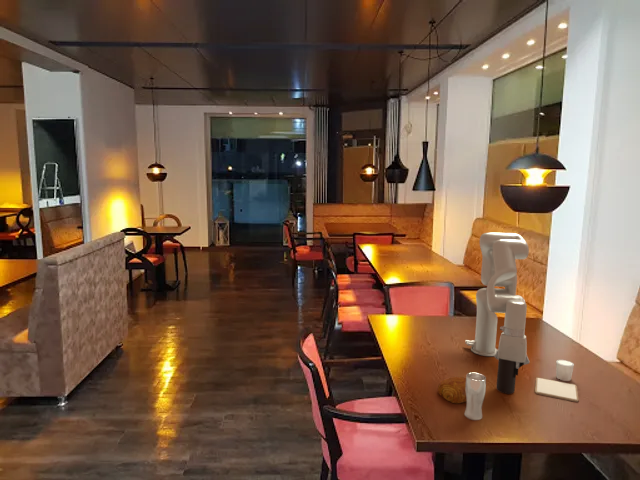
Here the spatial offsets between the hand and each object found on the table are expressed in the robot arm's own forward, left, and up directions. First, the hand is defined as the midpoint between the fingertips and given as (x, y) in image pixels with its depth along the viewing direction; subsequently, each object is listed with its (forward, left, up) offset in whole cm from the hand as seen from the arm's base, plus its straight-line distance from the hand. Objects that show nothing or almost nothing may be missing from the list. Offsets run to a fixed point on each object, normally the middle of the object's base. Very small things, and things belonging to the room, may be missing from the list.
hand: (510, 375), depth 187 cm
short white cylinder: (+20, +25, -7) cm, 33 cm away
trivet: (+17, +11, -7) cm, 21 cm away
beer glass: (-10, -26, -7) cm, 29 cm away
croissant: (-18, -13, -7) cm, 23 cm away
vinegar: (-1, +1, -7) cm, 7 cm away
